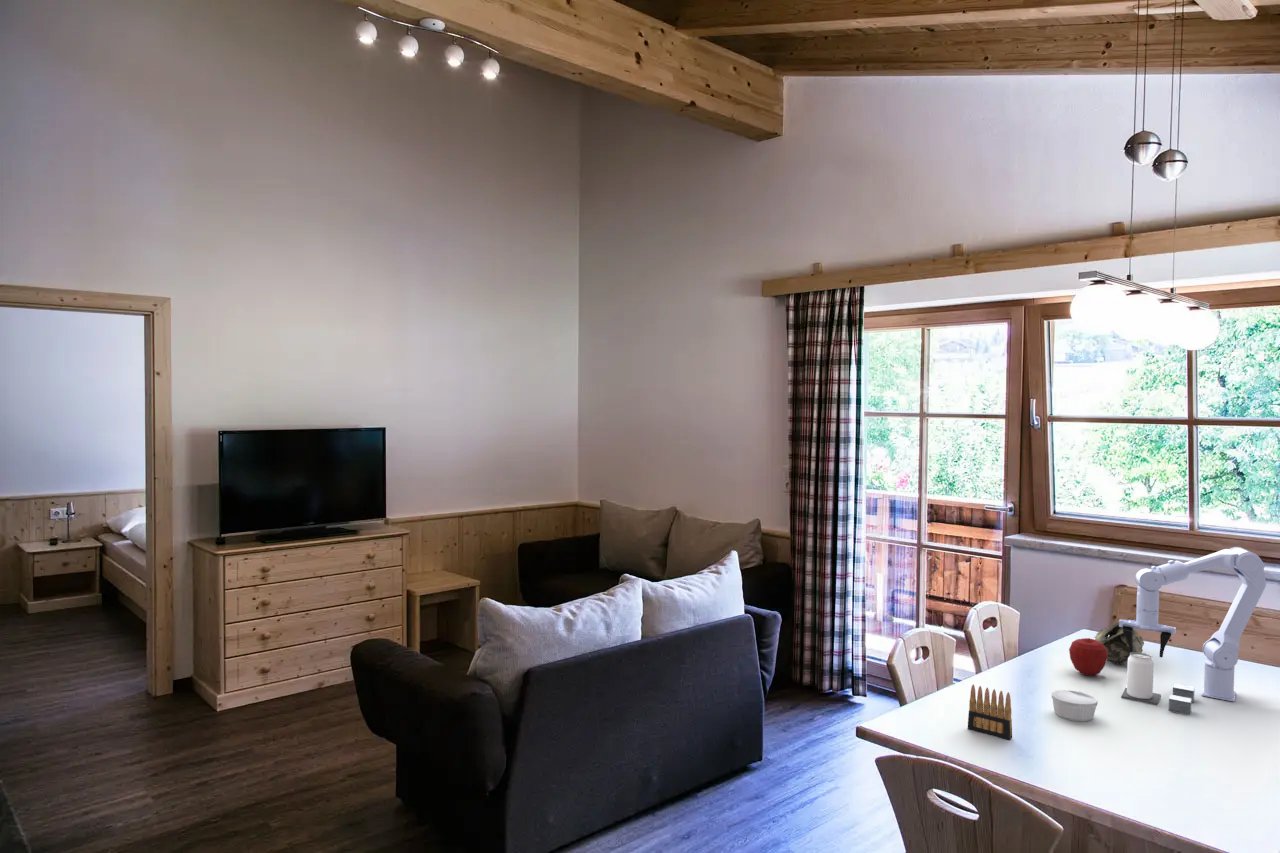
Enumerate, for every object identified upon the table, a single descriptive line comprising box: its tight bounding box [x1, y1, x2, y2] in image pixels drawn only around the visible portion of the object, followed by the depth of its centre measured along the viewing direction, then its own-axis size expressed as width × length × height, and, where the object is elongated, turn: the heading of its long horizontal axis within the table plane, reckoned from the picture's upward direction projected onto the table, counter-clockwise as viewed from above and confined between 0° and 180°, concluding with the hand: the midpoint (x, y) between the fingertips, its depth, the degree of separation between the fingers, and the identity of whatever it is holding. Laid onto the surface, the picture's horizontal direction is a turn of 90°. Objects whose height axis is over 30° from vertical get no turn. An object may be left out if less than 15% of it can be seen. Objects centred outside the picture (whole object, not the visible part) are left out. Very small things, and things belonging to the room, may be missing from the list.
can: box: [1126, 652, 1154, 699], centre depth 243 cm, size 6×6×12 cm
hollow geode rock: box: [1093, 616, 1145, 666], centre depth 280 cm, size 28×13×15 cm
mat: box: [1120, 687, 1162, 706], centre depth 244 cm, size 9×9×1 cm
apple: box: [1068, 637, 1108, 677], centre depth 263 cm, size 11×11×12 cm
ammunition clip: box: [967, 684, 1013, 741], centre depth 216 cm, size 11×2×12 cm, turn 50°
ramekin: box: [1051, 689, 1099, 722], centre depth 229 cm, size 11×11×5 cm
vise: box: [1168, 683, 1196, 716], centre depth 238 cm, size 17×5×4 cm, turn 143°
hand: (1146, 654), depth 251 cm, fingers open, 7 cm apart
